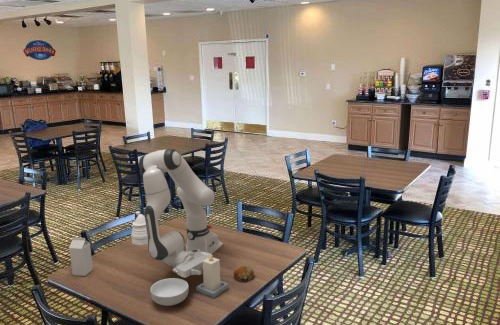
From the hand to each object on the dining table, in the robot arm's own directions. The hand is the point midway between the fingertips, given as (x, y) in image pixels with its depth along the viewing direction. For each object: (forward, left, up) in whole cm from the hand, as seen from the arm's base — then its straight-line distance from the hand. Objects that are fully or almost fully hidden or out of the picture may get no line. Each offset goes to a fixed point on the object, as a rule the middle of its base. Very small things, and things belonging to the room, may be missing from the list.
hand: (207, 268), depth 197 cm
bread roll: (-18, +7, -10) cm, 22 cm away
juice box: (0, +3, -9) cm, 9 cm away
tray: (0, +3, -10) cm, 10 cm away
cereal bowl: (+18, -7, -10) cm, 22 cm away
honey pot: (-20, -70, -10) cm, 74 cm away
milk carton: (+24, -64, -10) cm, 70 cm away
